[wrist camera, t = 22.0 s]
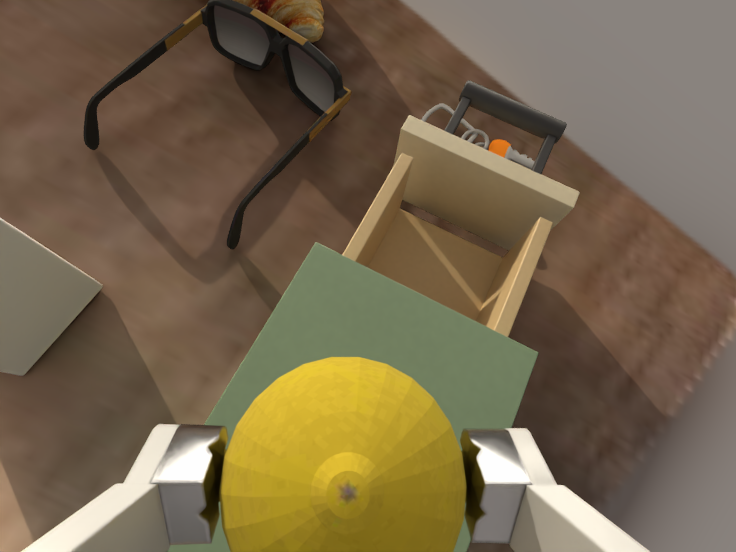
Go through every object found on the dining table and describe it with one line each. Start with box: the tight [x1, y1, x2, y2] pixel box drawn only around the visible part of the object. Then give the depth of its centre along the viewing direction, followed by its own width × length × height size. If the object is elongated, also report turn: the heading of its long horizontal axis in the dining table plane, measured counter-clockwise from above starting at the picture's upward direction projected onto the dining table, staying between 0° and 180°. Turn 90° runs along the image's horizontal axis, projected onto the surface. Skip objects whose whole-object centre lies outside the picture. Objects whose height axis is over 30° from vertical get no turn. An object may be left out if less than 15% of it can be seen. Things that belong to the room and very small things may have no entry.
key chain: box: [421, 104, 534, 169], centre depth 35 cm, size 13×7×1 cm, turn 49°
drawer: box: [343, 81, 579, 337], centre depth 28 cm, size 20×11×7 cm, turn 153°
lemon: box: [219, 357, 467, 552], centre depth 11 cm, size 6×6×8 cm
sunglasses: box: [84, 0, 351, 249], centre depth 33 cm, size 14×15×5 cm
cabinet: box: [167, 242, 538, 552], centre depth 23 cm, size 15×12×9 cm
